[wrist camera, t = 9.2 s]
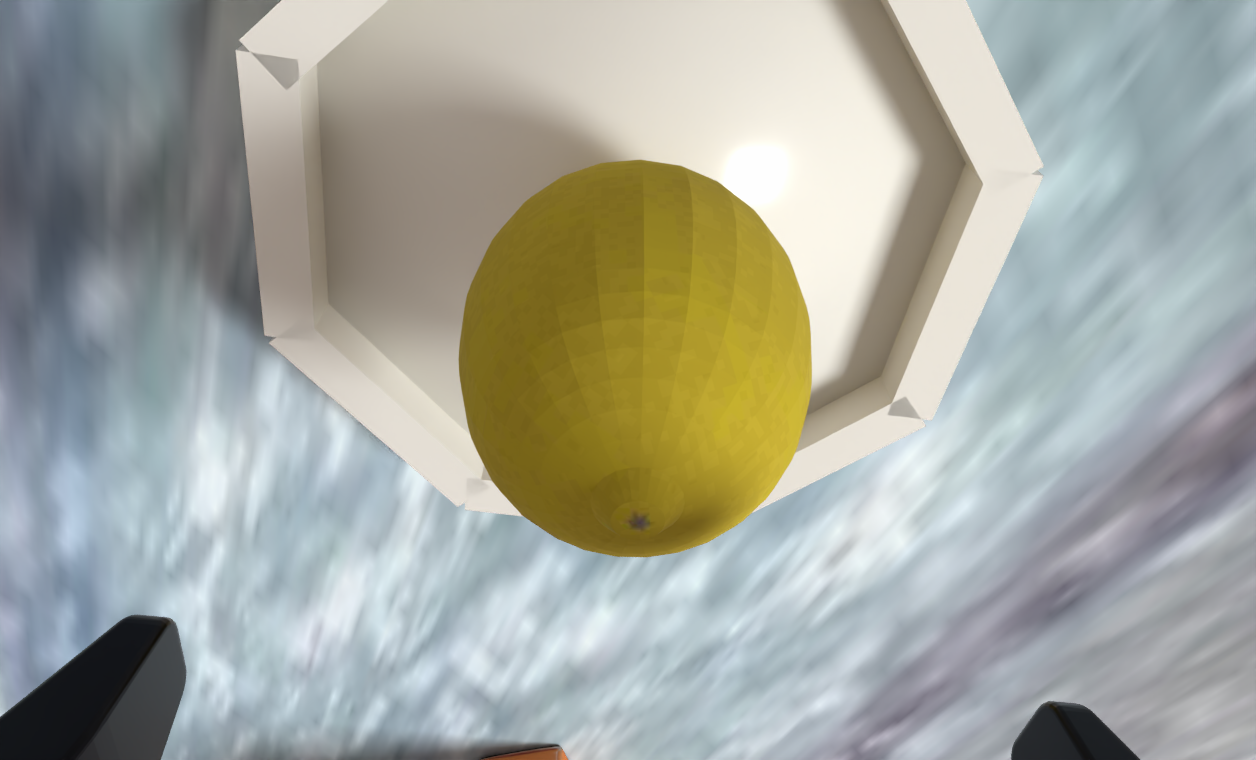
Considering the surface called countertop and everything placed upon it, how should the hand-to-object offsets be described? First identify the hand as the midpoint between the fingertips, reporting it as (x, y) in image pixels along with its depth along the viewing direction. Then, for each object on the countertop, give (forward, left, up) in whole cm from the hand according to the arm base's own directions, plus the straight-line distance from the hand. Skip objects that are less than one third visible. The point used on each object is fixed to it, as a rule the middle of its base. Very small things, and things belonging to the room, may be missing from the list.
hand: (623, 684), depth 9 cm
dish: (0, 0, -11) cm, 11 cm away
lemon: (0, 0, -10) cm, 10 cm away
